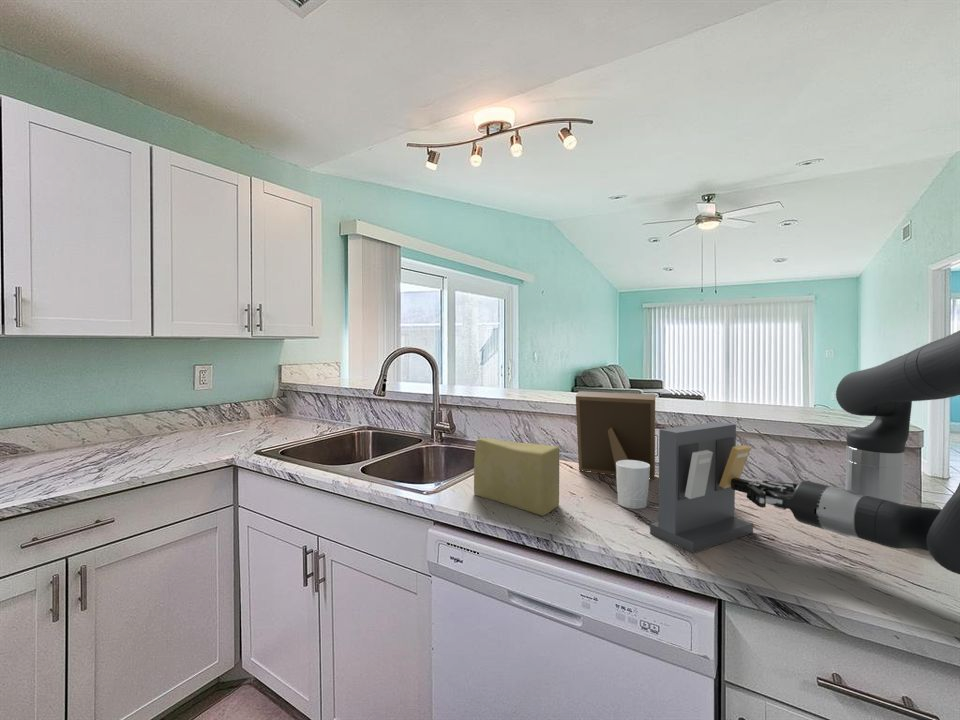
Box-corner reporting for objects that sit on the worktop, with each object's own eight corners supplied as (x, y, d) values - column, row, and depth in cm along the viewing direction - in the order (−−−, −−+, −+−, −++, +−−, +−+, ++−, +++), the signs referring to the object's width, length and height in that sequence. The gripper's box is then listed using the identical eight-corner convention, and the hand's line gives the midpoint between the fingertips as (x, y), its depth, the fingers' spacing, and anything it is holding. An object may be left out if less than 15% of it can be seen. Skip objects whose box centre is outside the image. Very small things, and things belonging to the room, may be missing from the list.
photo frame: (581, 467, 143) (582, 389, 142) (655, 475, 134) (656, 392, 133) (571, 481, 129) (572, 394, 128) (652, 491, 120) (653, 398, 119)
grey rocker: (699, 492, 89) (707, 449, 88) (705, 495, 88) (713, 452, 86) (684, 496, 87) (692, 452, 85) (690, 499, 86) (698, 455, 84)
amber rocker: (732, 482, 95) (745, 444, 93) (737, 485, 94) (751, 447, 91) (719, 485, 93) (732, 446, 90) (724, 488, 92) (738, 450, 89)
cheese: (463, 499, 114) (463, 440, 113) (485, 489, 122) (485, 434, 121) (542, 518, 101) (543, 452, 101) (560, 505, 109) (561, 444, 109)
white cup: (609, 504, 110) (610, 464, 110) (624, 496, 116) (624, 458, 115) (641, 512, 105) (641, 470, 104) (654, 504, 110) (655, 463, 110)
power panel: (708, 516, 102) (710, 420, 101) (752, 532, 93) (755, 427, 93) (650, 533, 93) (651, 427, 92) (693, 553, 84) (694, 436, 83)
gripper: (849, 481, 81) (751, 461, 96) (811, 493, 74) (713, 469, 89) (849, 522, 81) (751, 495, 96) (811, 538, 74) (713, 506, 90)
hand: (733, 483), depth 93 cm, fingers closed
